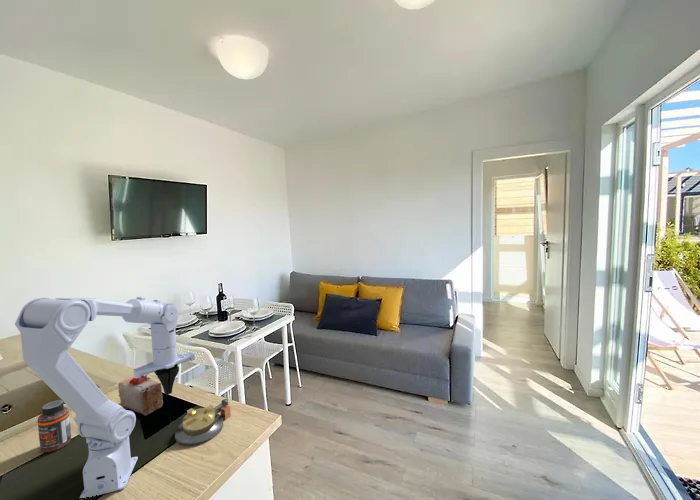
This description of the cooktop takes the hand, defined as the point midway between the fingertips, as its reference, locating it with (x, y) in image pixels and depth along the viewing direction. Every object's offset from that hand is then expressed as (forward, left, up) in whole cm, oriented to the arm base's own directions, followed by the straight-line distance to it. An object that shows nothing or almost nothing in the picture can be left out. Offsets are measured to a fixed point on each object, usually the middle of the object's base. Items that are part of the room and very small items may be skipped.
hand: (168, 392), depth 85 cm
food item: (+15, +11, -11) cm, 22 cm away
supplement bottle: (+3, +27, -11) cm, 29 cm away
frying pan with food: (-3, -9, -10) cm, 14 cm away
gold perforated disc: (-2, -10, -9) cm, 14 cm away
